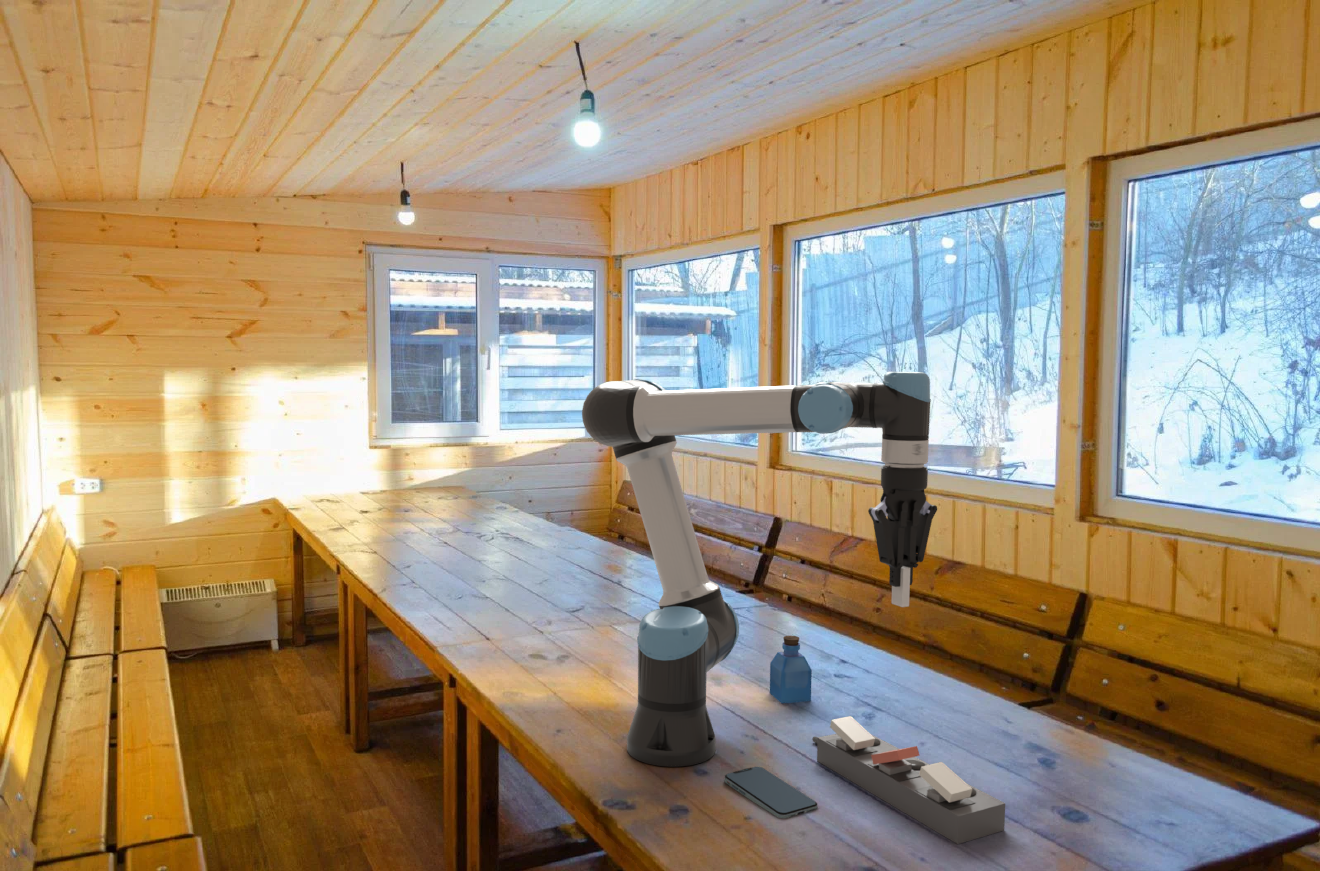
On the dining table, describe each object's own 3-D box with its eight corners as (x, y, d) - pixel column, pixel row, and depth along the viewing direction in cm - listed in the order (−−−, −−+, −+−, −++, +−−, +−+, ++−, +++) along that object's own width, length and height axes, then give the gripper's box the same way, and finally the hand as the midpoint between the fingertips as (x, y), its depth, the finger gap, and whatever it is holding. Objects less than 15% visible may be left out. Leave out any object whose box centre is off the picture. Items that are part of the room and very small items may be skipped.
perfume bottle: (781, 703, 194) (782, 643, 193) (769, 693, 200) (770, 634, 199) (810, 701, 196) (812, 640, 195) (798, 690, 202) (799, 632, 201)
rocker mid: (919, 755, 152) (917, 745, 152) (899, 760, 150) (896, 750, 150) (893, 759, 157) (891, 750, 157) (873, 764, 155) (871, 755, 155)
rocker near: (970, 796, 143) (972, 788, 142) (949, 802, 141) (951, 794, 140) (939, 769, 148) (941, 761, 148) (919, 774, 146) (921, 766, 146)
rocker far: (873, 745, 161) (875, 738, 161) (853, 750, 159) (855, 742, 159) (849, 723, 166) (850, 715, 166) (829, 727, 165) (831, 719, 164)
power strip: (1004, 830, 143) (1005, 796, 142) (957, 844, 139) (958, 809, 138) (833, 737, 177) (834, 709, 177) (792, 746, 173) (792, 718, 172)
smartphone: (781, 814, 145) (721, 773, 158) (780, 825, 146) (721, 784, 158) (821, 803, 149) (760, 764, 162) (820, 813, 149) (759, 774, 162)
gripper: (888, 468, 159) (883, 614, 161) (950, 465, 165) (945, 606, 167) (858, 464, 166) (854, 603, 168) (919, 461, 172) (915, 596, 174)
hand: (900, 604), depth 167 cm, fingers closed
